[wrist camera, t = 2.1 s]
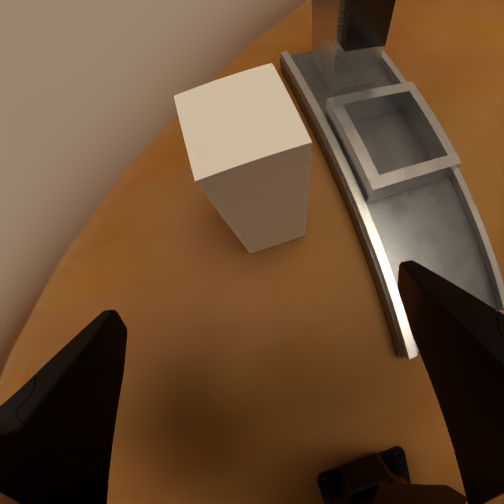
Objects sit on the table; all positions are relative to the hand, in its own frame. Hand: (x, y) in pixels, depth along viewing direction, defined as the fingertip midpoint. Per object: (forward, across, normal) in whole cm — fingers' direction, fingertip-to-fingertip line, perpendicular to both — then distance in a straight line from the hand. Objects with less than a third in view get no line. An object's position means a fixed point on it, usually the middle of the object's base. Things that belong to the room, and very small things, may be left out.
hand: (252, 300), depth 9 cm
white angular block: (+13, 0, +4) cm, 14 cm away
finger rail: (+14, -10, +3) cm, 18 cm away
